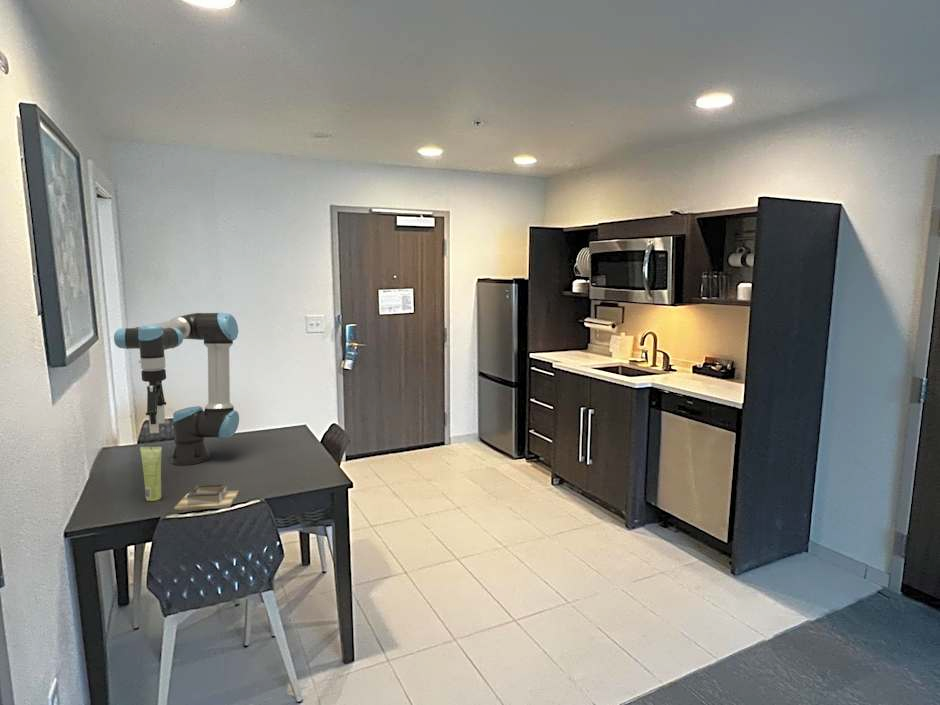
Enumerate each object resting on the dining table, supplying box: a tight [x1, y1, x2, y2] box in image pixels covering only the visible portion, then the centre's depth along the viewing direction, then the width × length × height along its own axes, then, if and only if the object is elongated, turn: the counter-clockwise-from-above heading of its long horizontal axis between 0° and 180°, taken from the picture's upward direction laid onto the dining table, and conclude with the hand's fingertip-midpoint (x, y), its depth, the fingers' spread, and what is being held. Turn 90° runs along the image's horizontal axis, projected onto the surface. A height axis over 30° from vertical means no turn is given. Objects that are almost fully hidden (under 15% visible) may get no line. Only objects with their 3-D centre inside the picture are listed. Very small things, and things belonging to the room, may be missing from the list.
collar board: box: [173, 483, 240, 511], centre depth 208 cm, size 14×18×4 cm
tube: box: [139, 446, 163, 502], centre depth 209 cm, size 6×5×20 cm
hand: (157, 428), depth 207 cm, fingers open, 13 cm apart
